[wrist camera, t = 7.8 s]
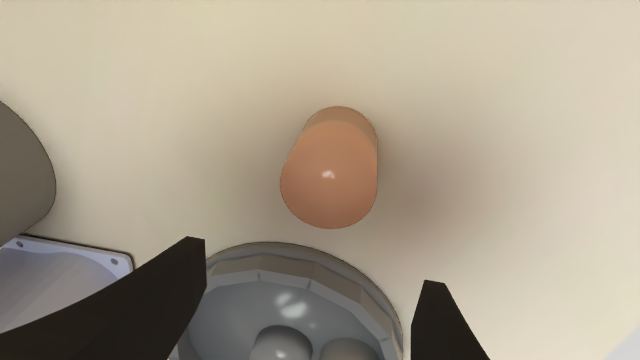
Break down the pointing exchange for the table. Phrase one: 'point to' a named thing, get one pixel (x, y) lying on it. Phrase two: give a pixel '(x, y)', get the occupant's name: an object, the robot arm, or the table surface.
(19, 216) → the coffee mug
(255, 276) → the groove tray
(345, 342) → the cream bead
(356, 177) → the terracotta bead
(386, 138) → the table surface
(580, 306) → the table surface
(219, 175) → the table surface
